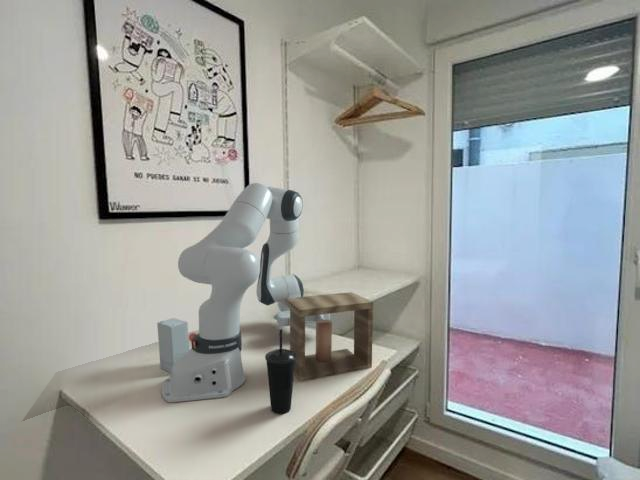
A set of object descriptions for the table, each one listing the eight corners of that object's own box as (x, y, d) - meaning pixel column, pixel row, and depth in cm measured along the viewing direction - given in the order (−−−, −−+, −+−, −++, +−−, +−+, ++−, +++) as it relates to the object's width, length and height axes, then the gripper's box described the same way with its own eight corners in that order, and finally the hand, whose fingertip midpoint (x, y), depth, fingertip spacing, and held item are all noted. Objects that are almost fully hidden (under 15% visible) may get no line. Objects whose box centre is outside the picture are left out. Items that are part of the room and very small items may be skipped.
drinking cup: (298, 401, 90) (298, 325, 88) (293, 418, 82) (293, 336, 80) (269, 399, 90) (269, 324, 89) (261, 416, 83) (261, 335, 81)
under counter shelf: (299, 381, 100) (300, 310, 98) (285, 362, 113) (285, 298, 111) (371, 367, 109) (373, 301, 108) (350, 350, 122) (351, 292, 120)
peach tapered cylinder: (319, 362, 110) (320, 325, 109) (312, 356, 115) (313, 320, 114) (334, 359, 112) (334, 323, 111) (327, 353, 117) (327, 318, 116)
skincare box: (191, 368, 108) (189, 321, 106) (172, 375, 103) (171, 326, 102) (176, 361, 113) (174, 316, 112) (158, 367, 108) (156, 321, 107)
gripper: (271, 307, 132) (282, 317, 120) (321, 302, 140) (336, 311, 128) (272, 323, 133) (282, 335, 120) (321, 317, 141) (335, 328, 128)
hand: (310, 323), depth 124 cm, fingers open, 8 cm apart
